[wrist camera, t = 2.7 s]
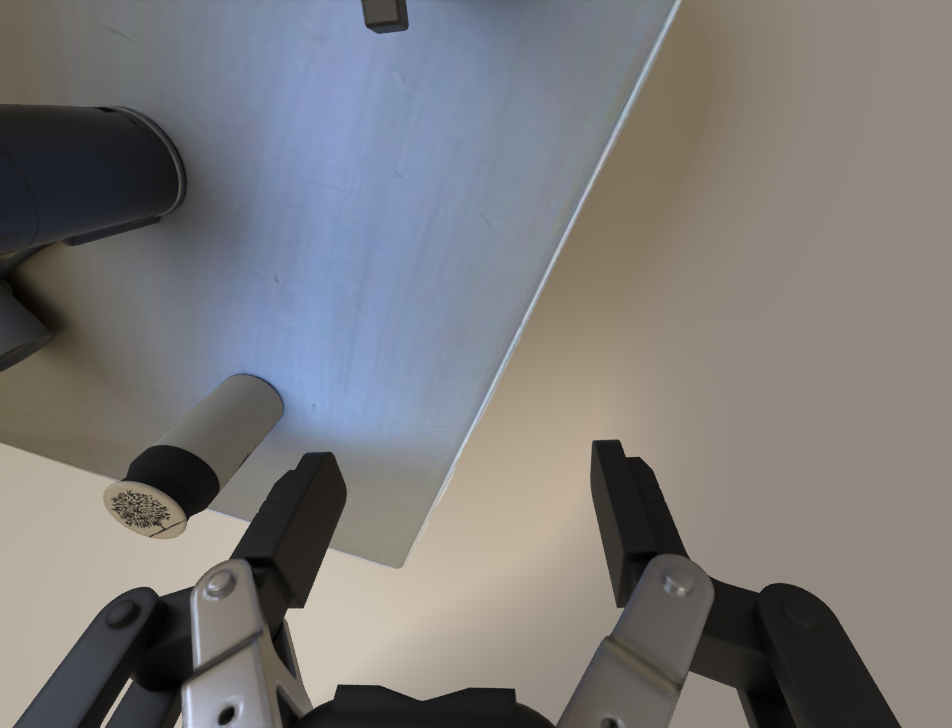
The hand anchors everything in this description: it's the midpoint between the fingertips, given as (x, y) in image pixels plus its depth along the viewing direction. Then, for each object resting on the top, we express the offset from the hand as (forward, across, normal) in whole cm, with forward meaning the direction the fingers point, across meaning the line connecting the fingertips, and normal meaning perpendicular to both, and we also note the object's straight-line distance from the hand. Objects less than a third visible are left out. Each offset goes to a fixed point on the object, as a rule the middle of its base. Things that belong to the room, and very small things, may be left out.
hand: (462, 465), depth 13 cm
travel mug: (+32, -32, -19) cm, 49 cm away
